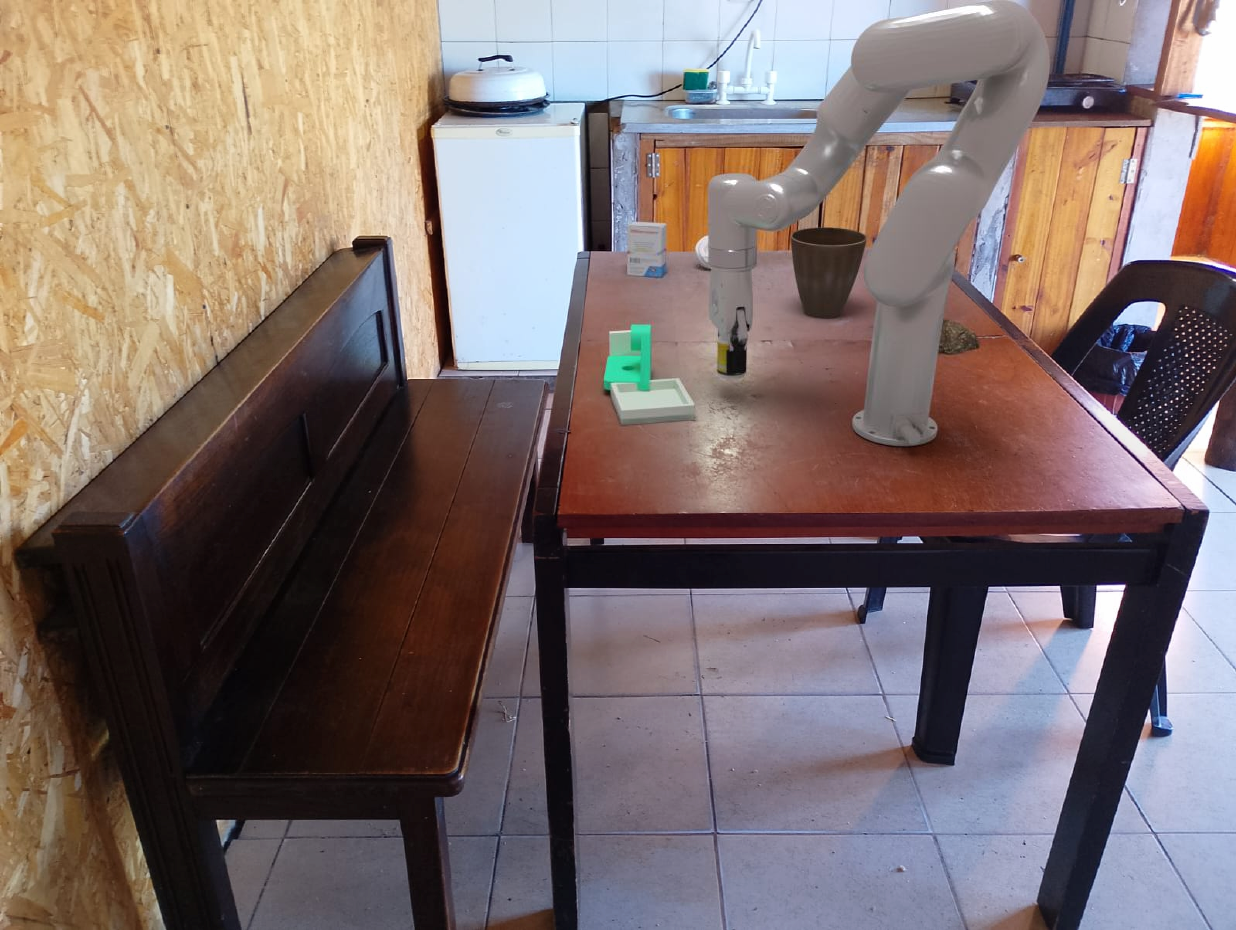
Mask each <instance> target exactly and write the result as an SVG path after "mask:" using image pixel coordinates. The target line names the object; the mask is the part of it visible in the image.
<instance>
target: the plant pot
mask: <svg viewBox="0 0 1236 930" xmlns="http://www.w3.org/2000/svg"><path fill="white" fill-rule="evenodd" d="M867 240H868V237H867V235H866V234H865V233H863V232H860V231H857V230H854V229H848V228H841V227H809V228H803V229H798V230H795V231H793V232H792V233H791V234H790V242H791V243H790V244H791V255H792V265H793V272H794V278H795V282H796V287H797V291H798V296H799V299H800V302H801V306H802V309H803V312H804V314H805V315H806V316H808V317H811V316H812V318H817V319H833V318H836V317H838V316H840V315H841V313H842V311H843V309H844V308H845V305H846V303H847V301H848V299H849V297H850V296H851V295H850V294H851V292H852V289H853V287H854V285H855V282H856V279H857V276H858V273H859V270H860V267H861V263H862V261H863V256H864V253H865V247H866V244H867Z"/></svg>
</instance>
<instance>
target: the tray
mask: <svg viewBox="0 0 1236 930" xmlns="http://www.w3.org/2000/svg"><path fill="white" fill-rule="evenodd" d="M610 388H611V390H610V399H611V402H612V403H613V406H614V409H615V411H616V413H617V417H618V419H619V421H620V424H621V426H630V425H632V426H633V425H642V424H654V423H655V424H657V423H668V422H683V421H692V420H693V421H695V420H696V419H695V412H696V406H695V403H694V401H693V399H692V398H691V396H690V394H689V393H688V391H687V390H686V388H685V386H684V383H682V381H681V379H680V378H679V377H676V378H662V379H661V378H659V379H651V380H650V390H637V383H610Z"/></svg>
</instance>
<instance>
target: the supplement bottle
mask: <svg viewBox="0 0 1236 930" xmlns="http://www.w3.org/2000/svg"><path fill="white" fill-rule="evenodd" d="M731 331H737V327H733V328H732V330H731ZM734 338H737V335H733V341H734ZM716 340H717V343H716V344H717V345H716V346H717V348H716V349H717V350H716V351H717V355H716V356H717V360H716V364H717V366H716V367H717V369H716V370H717V371H716V373H717V375H718V377H720V378H723V379H726V380H727V379H728V380H729V379H730V380H734V379H737V380H738V379H741V378H744V377H745V376H746V374H747V371H746V372H745V373H738V374H728V373H727V372H726V350H729V348H728V333H726V334H723V333H721V332H720V336H719V337H718V336H717V339H716Z"/></svg>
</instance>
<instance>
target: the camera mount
mask: <svg viewBox="0 0 1236 930" xmlns="http://www.w3.org/2000/svg"><path fill="white" fill-rule="evenodd" d="M630 330H631V351H641V356H610V355H609V356H607V360H606V366H605V371H604V377H603V389H604V390H607V391H611V388H610V383H637V390H650V380H652V362H653V361H652V324H631V326H630Z"/></svg>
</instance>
